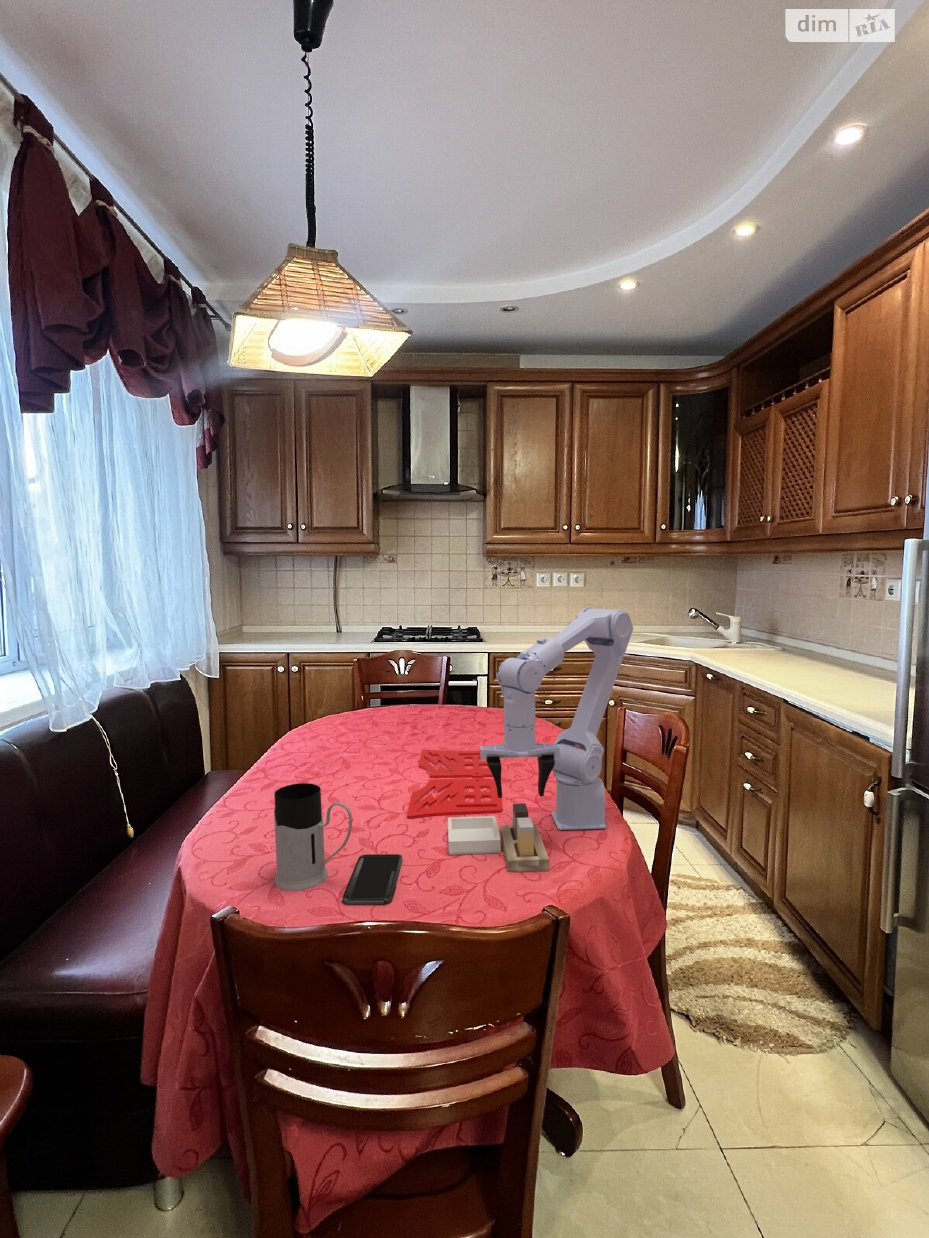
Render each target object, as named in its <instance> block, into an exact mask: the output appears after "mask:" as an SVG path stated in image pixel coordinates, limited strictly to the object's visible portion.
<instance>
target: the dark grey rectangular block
mask: <svg viewBox="0 0 929 1238" xmlns="http://www.w3.org/2000/svg"><path fill="white" fill-rule="evenodd" d="M517 818H529V811H528V807H527V803H512V825H513V838H512V839H513V840H517Z"/></svg>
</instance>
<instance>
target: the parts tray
mask: <svg viewBox="0 0 929 1238" xmlns="http://www.w3.org/2000/svg"><path fill="white" fill-rule="evenodd" d="M497 822H498V821H497V817H496V815H494V816H493V815H489V816H488V815H487V816H459V817H457V816H456V817H447V835H448V836H447V838H448V839H447V840H448V843H447V844H448V856H451V855H452V856H455V855H458V856H459V855H461V856H462V855H486V854H487V855H489V854H491V855H492V854H501V853H502V852H501V850H502V848H501V845H502V842H501V837H500V829H499V826H498V823H497Z"/></svg>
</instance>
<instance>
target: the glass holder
mask: <svg viewBox="0 0 929 1238" xmlns="http://www.w3.org/2000/svg"><path fill="white" fill-rule="evenodd" d="M321 790H322V789H321V787H320V786H319V785H318V784H314V783H308V782H307V783H306V782H303V783H301V782H298V783H292V784H289V785H284V786H282V787H280V788H278V789H276V790H275V791H274V808H273V809H274V810H273V813H274V815H273V816H274V833H275V834H274V835H275V836H274V837H275V839H274V840H275V854H276V855H275V858H276V875H275V877H274V884H276V887H278V889H281V890H285V891H297V892H298V891H304V890H308V888H309V889H312V888H314V887H313V886H315V887H316V885H317V886H319V885H320V884H322V883H323V882H324V881H325V880H326V879H327V878H328V876H329V873H328V870H327V868H326V863H327V862H328V861H330V860H331V859H332V858H334V856H336V855H337V854H338V853H340V851H341V850H342V849H344V848H345V846H346V845H347V843H348V841H349V839H350V836H351V833H352V829H353V813H352V811H351V808H350V807H349V806H348V805H347V804H345V803H343V802H341V801H338V802H334V803H332V804H330V805H329V807H328V808H327V812H326V815H325V816H326V821H325V823H324V817H323V815H322V814H323V813H322V791H321ZM334 806H340V807H342V808H344V810H345V811H346V812H347V816H348V830H347V835H346V837H345V839H344V841H343V843H342V844H341V845H340V847H339V848H338V849H337V850H335V852H334V853H332V854H331V855H329V856H328V857H327V858H326V859H325V838H324V837H325V836H324V828H325V827H328V825H329V823H330V820H331V810H332V809H333V808H334ZM318 884H319V885H318ZM311 887H312V888H311Z"/></svg>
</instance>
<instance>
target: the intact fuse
mask: <svg viewBox="0 0 929 1238" xmlns="http://www.w3.org/2000/svg"><path fill="white" fill-rule="evenodd" d="M533 824H534V823H533V821H532V819H531V817H528V818H517V854H516V855H517V857H531V856H534V827H533Z"/></svg>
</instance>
